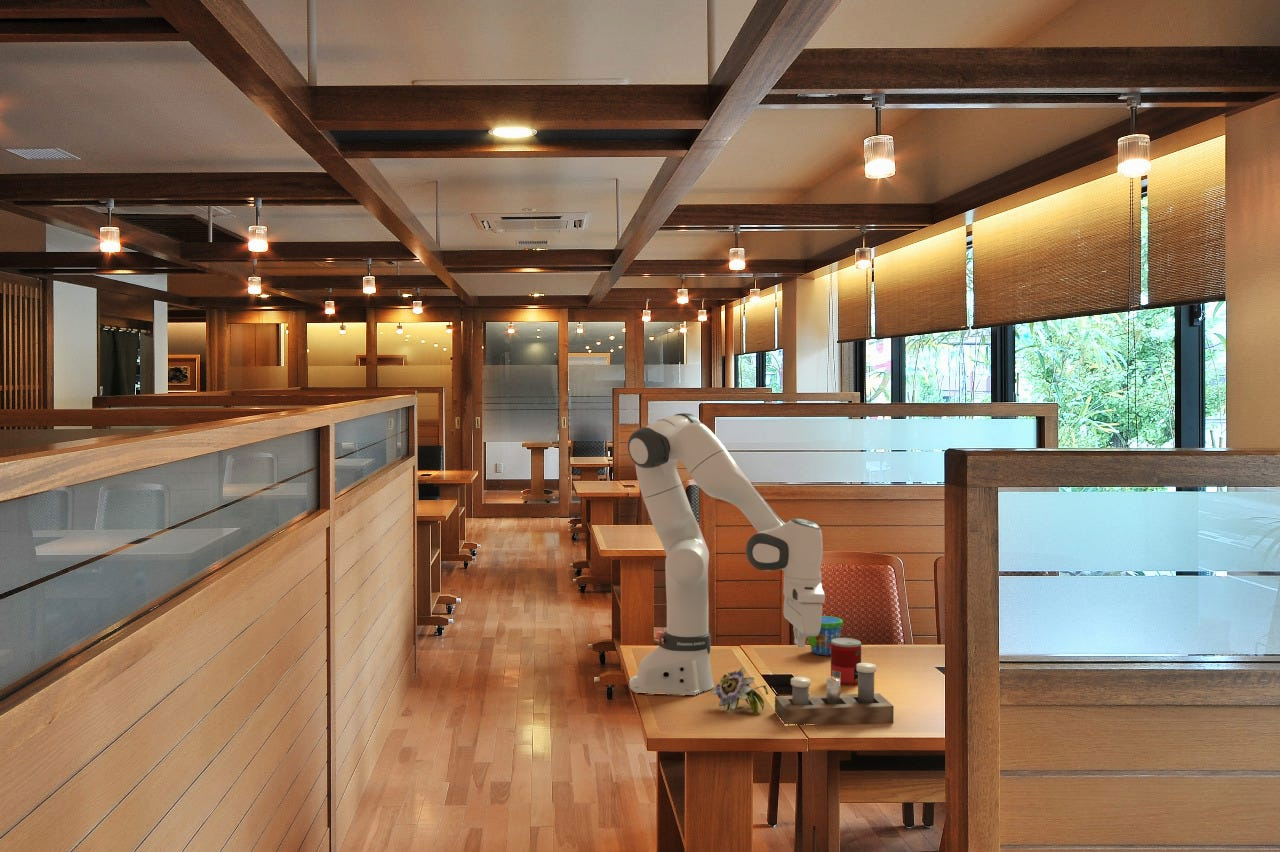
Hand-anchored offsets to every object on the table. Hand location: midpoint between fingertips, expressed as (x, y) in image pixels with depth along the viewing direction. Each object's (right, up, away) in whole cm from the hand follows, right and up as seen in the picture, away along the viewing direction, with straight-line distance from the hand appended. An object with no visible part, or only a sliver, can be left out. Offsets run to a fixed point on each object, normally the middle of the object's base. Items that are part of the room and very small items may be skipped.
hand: (799, 645), depth 235 cm
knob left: (0, -17, 0) cm, 17 cm away
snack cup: (+17, -16, +61) cm, 65 cm away
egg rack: (+8, -17, +1) cm, 19 cm away
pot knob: (+8, -14, +1) cm, 16 cm away
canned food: (+17, -17, +31) cm, 39 cm away
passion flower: (-13, -17, +8) cm, 23 cm away
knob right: (+16, -14, +1) cm, 21 cm away
